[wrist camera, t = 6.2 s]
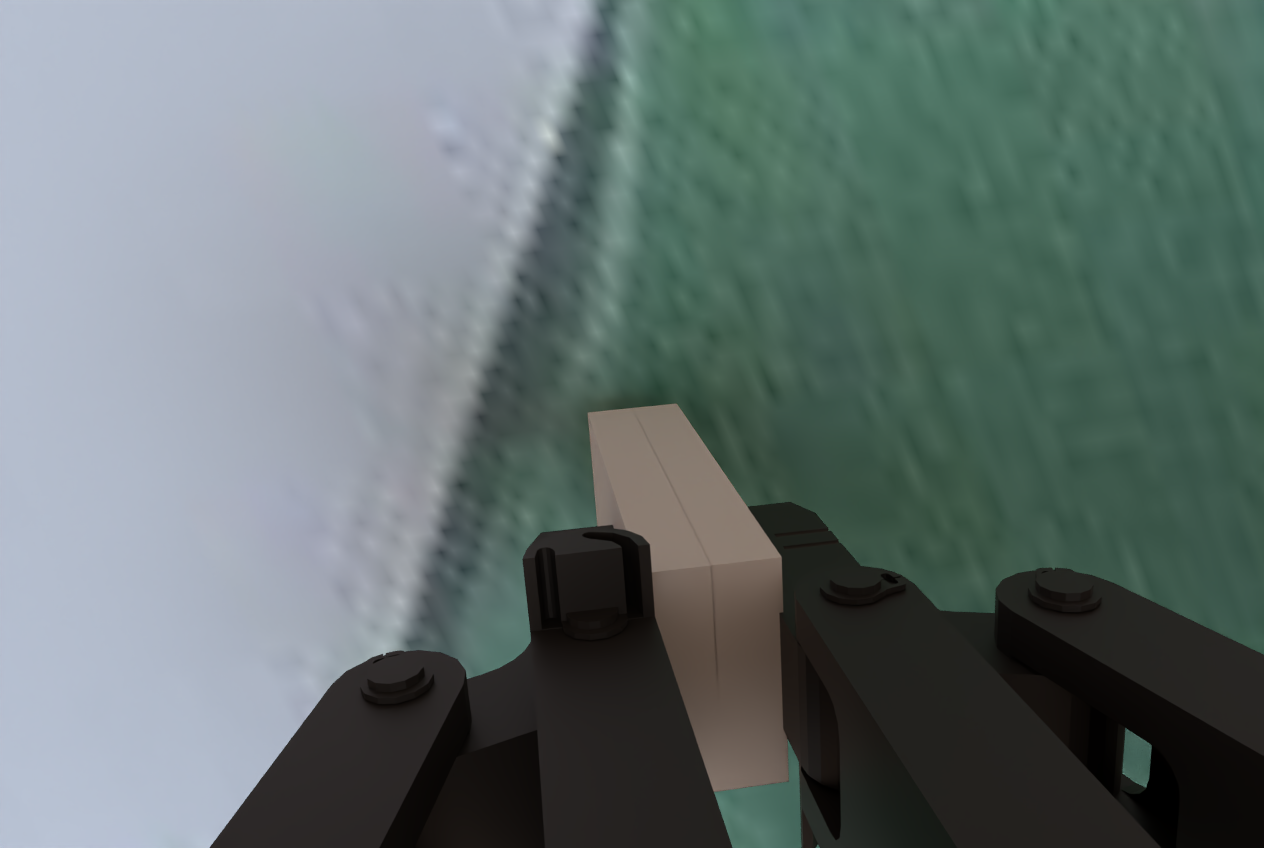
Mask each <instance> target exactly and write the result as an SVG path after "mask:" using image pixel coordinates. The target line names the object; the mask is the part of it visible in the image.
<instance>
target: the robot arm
mask: <svg viewBox="0 0 1264 848" xmlns="http://www.w3.org/2000/svg"><path fill="white" fill-rule="evenodd" d="M588 422H589V433H590V445H591V457H592V468H593V480H594V492H595V503H596V515H597V526H596V527H588V528H579V529H570V530H561V531H552V532H543V533H541V534H540V535H539V536H538V537H537V538H536V539H535V540H534V542H533V543H532V544H531V545H530V546H529V547H528V548H527V550H526V552H525V555H524V557H523V567H524V576H525V586H526V595H527V604H528V613H529V622H530V632H531V642H530V644H529V645H528V647H527V648H526V650H525V651H524V652H523V653H522V654H520V655H519V656H518V657H517V658H516V659H514V660H513V661H511V662H509V663H508V664H506V665H504V666H502V667H500V668H498V669H496V670H493V671H490V672H488V673H485V674H482V675H479V676H476V677H473V678H470V679H467V678H466V670H465V669H464V668H463V666H462V665H461V664H460V662H459V661H458V660H457V659H455V658H453V657H450V656H448V655H446V654H443V653H441V652H431V651H421V650H416V651H407V652H404V651H394V652H389V653H386V655H384V656H383V654H381V655H378V656H375V657H372V658H370V659H369V660H367V661H366V662H364V663H362V664H360V665H358V666H356V667H354V668H352V669H350V670H348V671H346V672H345V673H344V674H343V675H342V676H341V677H340V678H339V679H337V680H336V681H335V682H334V683H333V684H332V685H331V686H330V688H329V689H328V690H327V692H326V693H325V694H324V696H323V697H322V698H321V700H320V701H319V702H318V704H317V705H316V706H315V708H314V709H313V710H312V712H311V713H310V714H309V716H308V717H307V718H306V720H305V721H304V722H303V724H302V725H301V726H300V728H299V729H298V730H297V732H296V733H295V734H294V736H293V737H292V738H291V740H290V741H289V742H288V744H287V745H286V746H285V748H284V749H283V750H282V752H281V753H280V754H279V756H278V757H277V758H276V760H275V761H274V762H273V764H272V765H271V767H270V768H269V769H268V771H267V772H266V773H265V775H264V776H263V777H262V779H261V780H260V781H259V783H258V784H257V785H256V787H255V788H254V789H253V791H252V792H251V793H250V795H249V796H248V797H247V799H246V800H245V801H244V803H243V804H242V805H241V807H240V808H239V809H238V811H237V812H236V813H235V815H234V816H233V817H232V819H231V820H230V821H229V823H228V824H227V825H226V827H225V828H224V829H223V831H222V832H221V833H220V835H219V836H218V837H217V839H216V840H215V841H214V843H213V844H212V845H211V847H210V848H732V845H731V842H730V839H729V836H728V833H727V830H726V827H725V824H724V821H723V818H722V815H721V812H720V809H719V806H718V803H717V800H716V797H715V794H714V792H717V791H724V790H731V789H738V788H745V787H752V786H759V785H766V784H773V783H781V782H788V781H789V773H788V742H787V738H788V740H789V742H790V744H791V746H792V748H793V750H794V752H795V754H796V756H797V759H798V761H799V775H800V810H801V845H802V848H816V846H817V845H819V847H820V848H1264V655H1263V654H1261V653H1259V652H1257V651H1255V650H1252V649H1250V648H1248V647H1246V646H1244V645H1242V644H1240V643H1238V642H1236V641H1234V640H1232V639H1229V638H1227V637H1225V636H1223V635H1221V634H1219V633H1217V632H1215V631H1213V630H1211V629H1209V628H1206V627H1204V626H1202V625H1200V624H1198V623H1196V622H1194V621H1192V620H1190V619H1188V618H1186V617H1183V616H1181V615H1179V614H1177V613H1175V612H1173V611H1171V610H1169V609H1167V608H1165V607H1163V606H1160V605H1158V604H1156V603H1154V602H1152V601H1150V600H1148V599H1146V598H1144V597H1142V596H1140V595H1137V594H1135V593H1133V592H1131V591H1129V590H1127V589H1125V588H1123V587H1121V586H1119V585H1117V584H1114V583H1112V582H1109V581H1106V580H1104V579H1101V578H1098V577H1095V576H1092V575H1088V574H1082V573H1077V572H1074V571H1073V570H1071V569H1065V568H1055V570H1053V569H1052V568H1039V569H1037V570H1036V571H1029V572H1022V573H1017V574H1015V575H1012V576H1010V577H1008V578H1005V579H1003V580H1002V581H1001V583H1000V584H999V585H998V587H997V588H996V597H995V613H975V612H952V611H940V610H938V609H937V608H936V607H935V606H934V604H933V603H932V602H931V601H930V600H929V599H928V598H927V597H926V596H925V595H924V594H923V593H922V592H921V591H920V589H919V588H918V587H917V586H916V585H915V584H914V583H912V582H911V581H909V580H908V579H906V578H905V577H903V576H902V575H900V574H897V573H895V572H892V571H887V570H884V569H880V568H872V567H864V566H860V565H859V563H858V562H857V561H856V560H855V559H854V558H853V556H852V555H851V554H850V553H849V552H848V551H847V549H846V548H845V547H844V546H843V545H842V544H841V543H839V542H838V539H837V538H836V537H835V535H834V534H833V533H832V532H831V531H828V527H827V526H826V525H825V524H824V523H823V521H822V520H821V519H820V518H819V517H818V516H817V514H816V513H814V512H812V511H809V510H807V509H805V508H803V507H800V506H798V505H796V504H794V503H791V502H785V503H776V504H767V505H758V506H750V507H747V506H746V504H745V503H744V501H743V500H742V498H741V497H740V495H739V494H738V493H737V491H736V490H735V488H734V487H733V485H732V484H731V482H730V481H729V479H728V478H727V476H726V475H725V473H724V472H723V471H722V469H721V468H720V466H719V465H718V463H717V462H716V460H715V459H714V457H713V456H712V454H711V453H710V451H709V450H708V449H707V447H706V446H705V444H704V443H703V441H702V440H701V438H700V437H699V435H698V434H697V432H696V431H695V429H694V428H693V427H692V425H691V424H690V422H689V421H688V419H687V418H686V416H685V415H684V413H683V412H682V410H681V409H680V408H679V406H678V405H677V404H667V405H657V406H647V407H637V408H627V409H617V410H608V411H598V412H588ZM1125 728H1127V729H1128V730H1130V731H1131V732H1133V733H1135V734H1136V735H1138V736H1139V737H1141V738H1142V739H1144V740H1146V741H1147V742H1149V743H1150V744H1151V745H1152V751H1151V763H1150V776H1149V781H1148V784H1147V787H1146V788H1145V787H1143V786H1141V785H1139V784H1136V783H1135V782H1133V781H1132V780H1130V779H1129V778H1128V777H1126V776H1125V775H1123V774H1122V767H1123V753H1124V739H1125Z"/></svg>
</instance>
